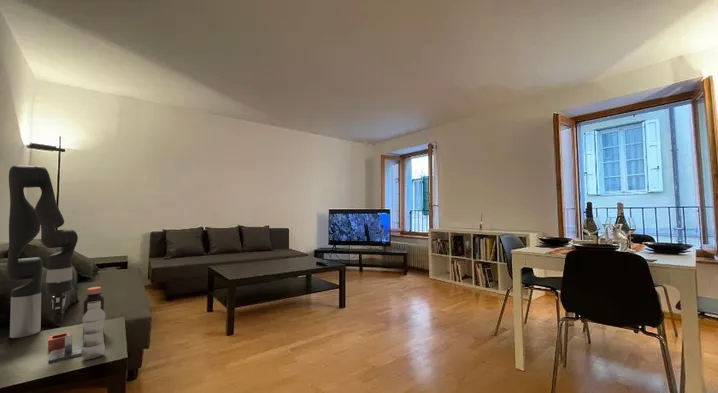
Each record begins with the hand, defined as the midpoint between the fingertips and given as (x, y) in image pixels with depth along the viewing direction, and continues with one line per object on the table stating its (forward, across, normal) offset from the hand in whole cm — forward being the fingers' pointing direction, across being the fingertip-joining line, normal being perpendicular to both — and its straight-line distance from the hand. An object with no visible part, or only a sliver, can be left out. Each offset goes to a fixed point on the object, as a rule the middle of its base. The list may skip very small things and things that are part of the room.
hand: (58, 320), depth 124 cm
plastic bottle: (+11, +21, +10) cm, 26 cm away
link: (+10, -1, 0) cm, 10 cm away
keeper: (+10, +11, +3) cm, 16 cm away
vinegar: (+10, -7, +11) cm, 16 cm away
